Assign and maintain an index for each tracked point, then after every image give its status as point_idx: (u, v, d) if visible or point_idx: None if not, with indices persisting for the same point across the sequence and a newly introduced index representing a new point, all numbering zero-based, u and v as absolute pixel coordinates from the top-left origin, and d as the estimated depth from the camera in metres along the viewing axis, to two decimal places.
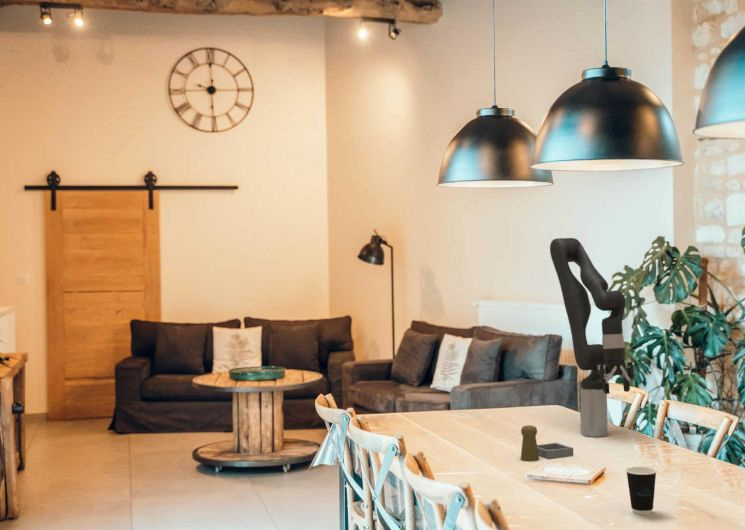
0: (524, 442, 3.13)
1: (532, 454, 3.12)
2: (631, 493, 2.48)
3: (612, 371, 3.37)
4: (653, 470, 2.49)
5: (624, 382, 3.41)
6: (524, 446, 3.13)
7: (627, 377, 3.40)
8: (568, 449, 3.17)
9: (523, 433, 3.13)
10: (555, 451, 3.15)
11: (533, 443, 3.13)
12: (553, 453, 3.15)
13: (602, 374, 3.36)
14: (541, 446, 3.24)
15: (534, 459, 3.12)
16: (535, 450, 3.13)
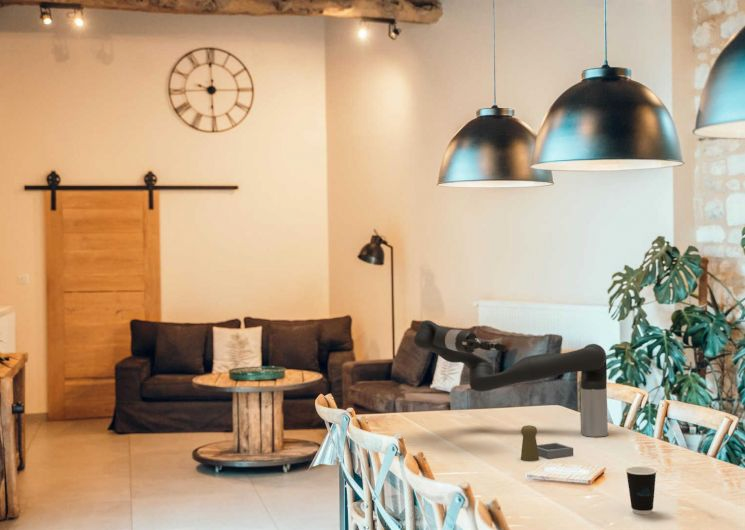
0: (524, 442, 3.13)
1: (532, 454, 3.12)
2: (631, 493, 2.48)
3: (476, 339, 3.29)
4: (653, 470, 2.49)
5: (497, 347, 3.30)
6: (524, 446, 3.13)
7: (494, 342, 3.32)
8: (568, 449, 3.17)
9: (523, 433, 3.13)
10: (555, 451, 3.15)
11: (533, 443, 3.13)
12: (553, 453, 3.15)
13: (470, 340, 3.25)
14: (541, 446, 3.24)
15: (534, 459, 3.12)
16: (535, 450, 3.13)
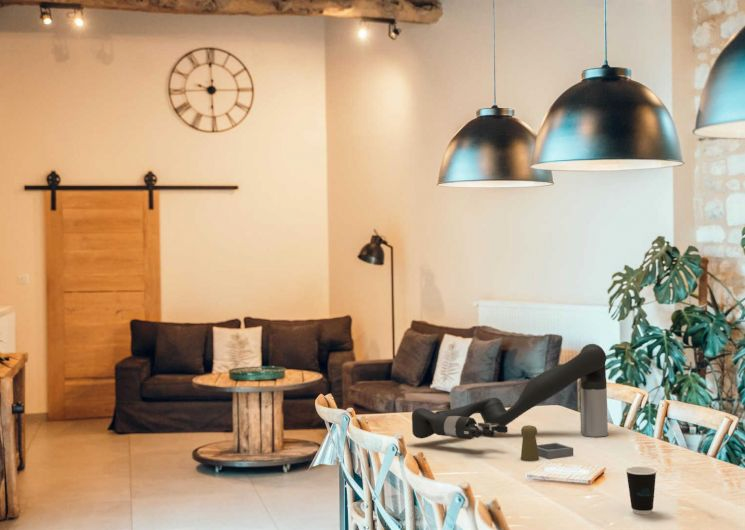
0: (524, 442, 3.13)
1: (532, 454, 3.12)
2: (631, 493, 2.48)
3: (476, 425, 3.24)
4: (653, 470, 2.49)
5: (498, 430, 3.27)
6: (524, 446, 3.13)
7: (494, 424, 3.28)
8: (568, 449, 3.17)
9: (523, 433, 3.13)
10: (555, 451, 3.15)
11: (533, 443, 3.13)
12: (553, 453, 3.15)
13: (472, 429, 3.21)
14: (541, 446, 3.24)
15: (534, 459, 3.12)
16: (535, 450, 3.13)
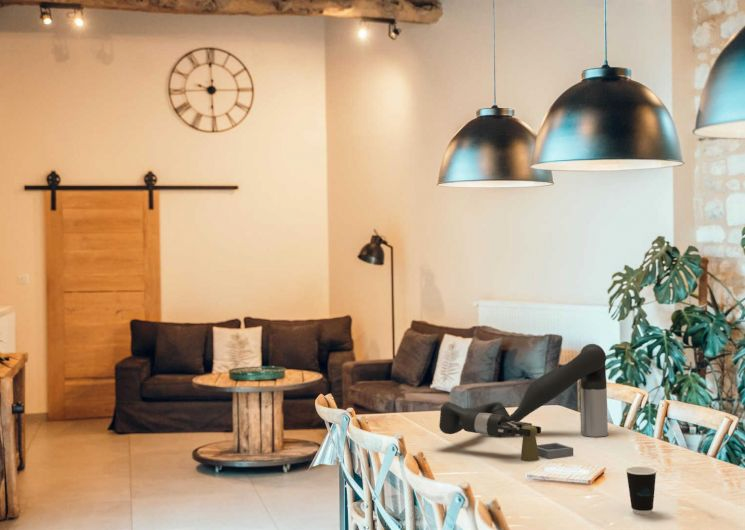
0: (524, 442, 3.13)
1: (532, 454, 3.12)
2: (631, 493, 2.48)
3: (510, 424, 3.16)
4: (653, 470, 2.49)
5: None
6: (524, 446, 3.13)
7: (526, 424, 3.18)
8: (568, 449, 3.17)
9: None
10: (555, 451, 3.15)
11: (533, 443, 3.13)
12: (553, 453, 3.15)
13: (508, 427, 3.12)
14: (541, 446, 3.24)
15: (534, 459, 3.12)
16: (535, 450, 3.13)
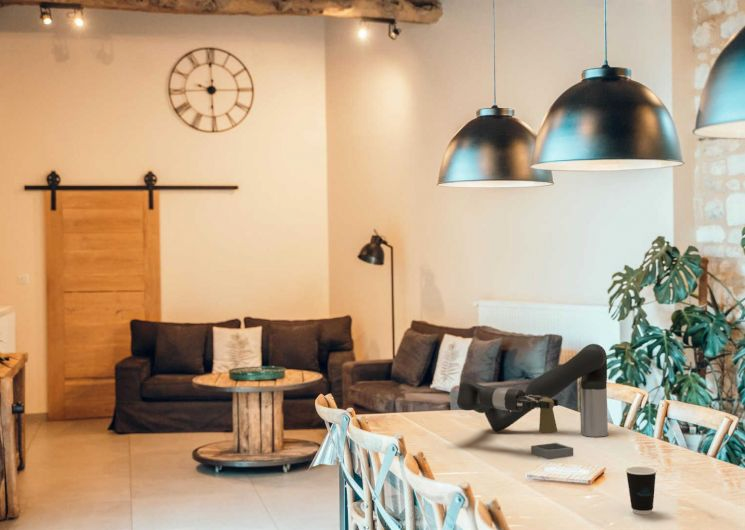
0: (542, 415, 3.18)
1: (550, 426, 3.16)
2: (631, 493, 2.48)
3: (528, 397, 3.20)
4: (653, 470, 2.49)
5: None
6: (542, 419, 3.17)
7: (544, 397, 3.22)
8: (568, 449, 3.17)
9: None
10: (555, 451, 3.15)
11: (550, 415, 3.17)
12: (553, 453, 3.15)
13: (527, 401, 3.17)
14: (541, 446, 3.24)
15: (552, 431, 3.16)
16: (553, 422, 3.17)
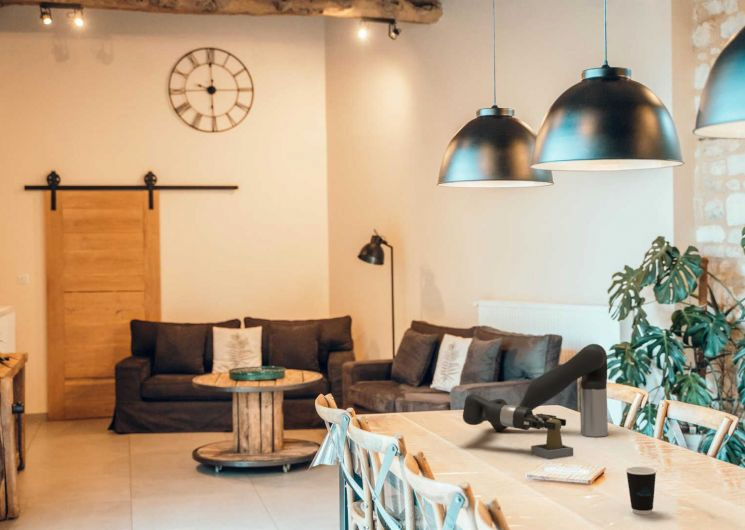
0: (549, 435, 3.19)
1: (557, 447, 3.17)
2: (631, 493, 2.48)
3: (536, 417, 3.20)
4: (653, 470, 2.49)
5: None
6: (549, 439, 3.19)
7: (551, 417, 3.24)
8: (568, 449, 3.17)
9: None
10: (555, 451, 3.15)
11: (558, 436, 3.18)
12: (553, 453, 3.15)
13: (533, 420, 3.17)
14: (541, 446, 3.24)
15: None
16: (560, 443, 3.18)
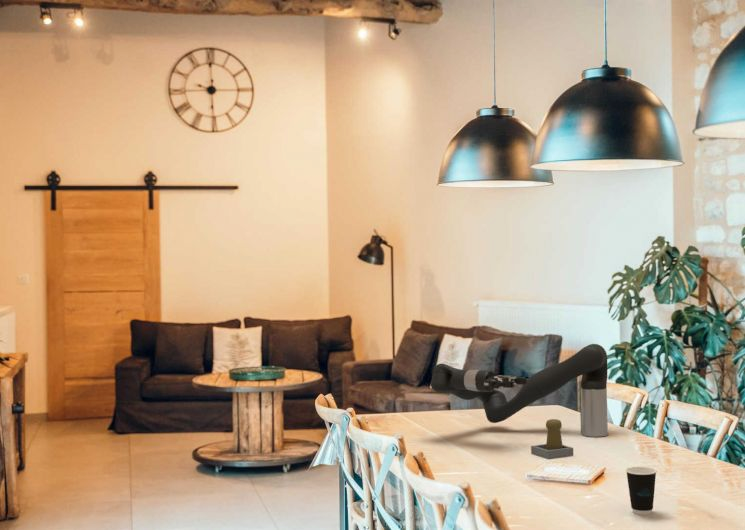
0: (549, 435, 3.19)
1: (557, 447, 3.17)
2: (631, 493, 2.48)
3: (496, 377, 3.30)
4: (653, 470, 2.49)
5: (517, 382, 3.32)
6: (549, 439, 3.19)
7: (513, 377, 3.34)
8: (568, 449, 3.17)
9: (548, 427, 3.19)
10: (555, 451, 3.15)
11: (558, 436, 3.18)
12: (553, 453, 3.15)
13: (492, 380, 3.27)
14: (541, 446, 3.24)
15: None
16: (560, 443, 3.18)
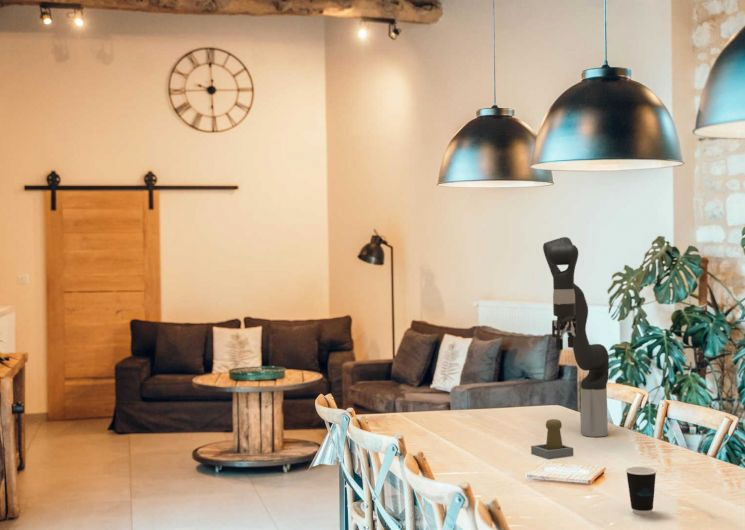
0: (549, 435, 3.19)
1: (557, 447, 3.17)
2: (631, 493, 2.48)
3: (565, 327, 3.29)
4: (653, 470, 2.49)
5: (569, 338, 3.35)
6: (549, 439, 3.19)
7: (573, 333, 3.35)
8: (568, 449, 3.17)
9: (548, 427, 3.19)
10: (555, 451, 3.15)
11: (558, 436, 3.18)
12: (553, 453, 3.15)
13: (559, 330, 3.26)
14: (541, 446, 3.24)
15: None
16: (560, 443, 3.18)
